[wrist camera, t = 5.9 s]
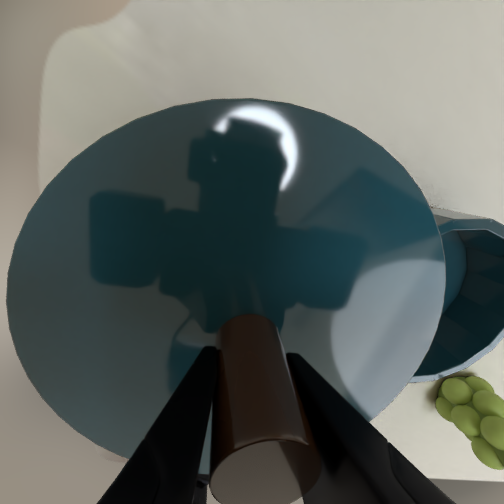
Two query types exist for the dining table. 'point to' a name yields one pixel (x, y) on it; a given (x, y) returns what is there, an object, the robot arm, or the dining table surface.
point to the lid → (226, 282)
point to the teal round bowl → (467, 294)
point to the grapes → (475, 416)
